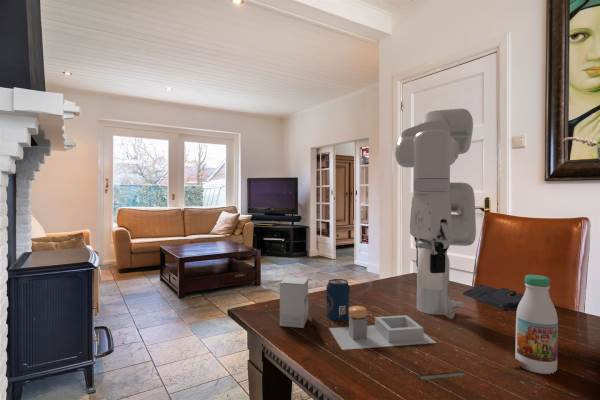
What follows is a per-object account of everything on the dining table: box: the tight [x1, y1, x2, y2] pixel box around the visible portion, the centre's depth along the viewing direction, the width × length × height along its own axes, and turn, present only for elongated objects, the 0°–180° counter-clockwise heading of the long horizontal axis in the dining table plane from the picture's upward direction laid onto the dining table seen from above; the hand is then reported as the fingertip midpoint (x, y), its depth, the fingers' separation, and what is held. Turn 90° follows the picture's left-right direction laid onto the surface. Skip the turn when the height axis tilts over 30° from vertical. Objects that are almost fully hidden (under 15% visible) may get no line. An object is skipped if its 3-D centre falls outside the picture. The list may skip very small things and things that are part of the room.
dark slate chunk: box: [462, 284, 524, 313], centre depth 124 cm, size 15×22×5 cm
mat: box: [416, 371, 465, 380], centre depth 78 cm, size 10×10×1 cm
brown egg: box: [349, 305, 368, 319], centre depth 90 cm, size 4×4×6 cm
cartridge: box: [417, 240, 443, 290], centre depth 77 cm, size 5×5×10 cm
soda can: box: [325, 278, 351, 322], centre depth 104 cm, size 7×7×12 cm
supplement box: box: [279, 276, 309, 329], centre depth 103 cm, size 7×7×13 cm
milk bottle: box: [514, 274, 559, 375], centre depth 77 cm, size 8×8×20 cm
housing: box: [328, 314, 437, 351], centre depth 91 cm, size 24×13×6 cm, turn 99°
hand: (430, 268), depth 77 cm, fingers closed on cartridge, 5 cm apart
